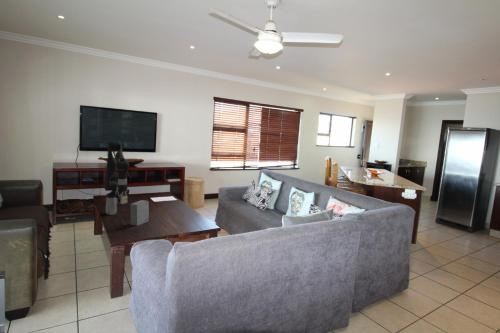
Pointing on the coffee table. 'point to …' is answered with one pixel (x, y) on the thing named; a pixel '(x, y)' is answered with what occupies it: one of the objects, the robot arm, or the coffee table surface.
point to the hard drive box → (139, 212)
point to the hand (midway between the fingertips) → (122, 201)
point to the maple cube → (123, 199)
